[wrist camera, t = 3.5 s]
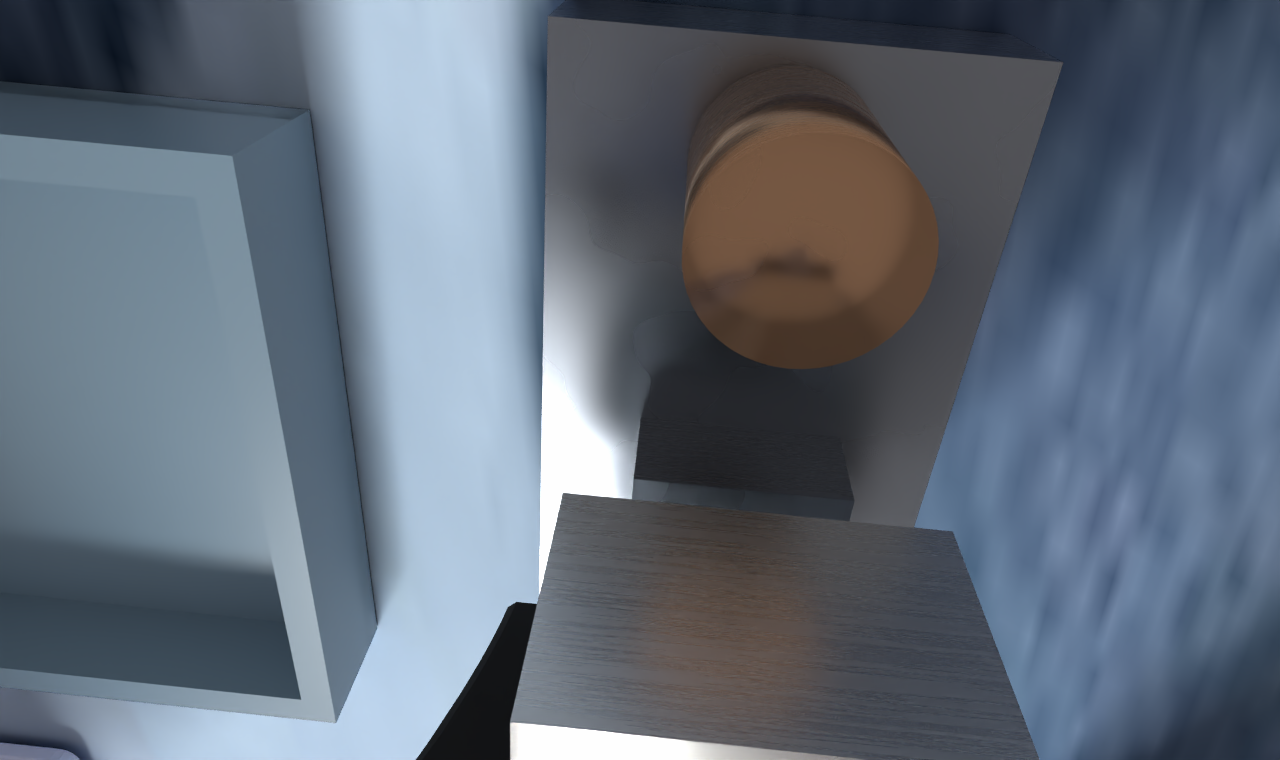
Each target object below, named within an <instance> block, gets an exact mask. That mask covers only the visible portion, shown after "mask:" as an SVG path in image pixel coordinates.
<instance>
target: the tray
mask: <svg viewBox="0 0 1280 760" xmlns="http://www.w3.org/2000/svg"><path fill="white" fill-rule="evenodd" d="M376 630H377V623H376V616H375V608H374V600H373V593H372V585H371V577H370V570H369V562H368V554H367V547H366V539H365V531H364V524H363V516H362V508H361V501H360V493H359V485H358V478H357V470H356V462H355V454H354V447H353V439H352V431H351V424H350V416H349V408H348V401H347V393H346V385H345V378H344V370H343V362H342V355H341V347H340V339H339V332H338V324H337V316H336V309H335V301H334V293H333V286H332V278H331V270H330V263H329V255H328V247H327V240H326V232H325V224H324V217H323V209H322V201H321V194H320V186H319V178H318V171H317V163H316V155H315V148H314V140H313V132H312V125H311V117H310V110H306V109H295V108H284V107H273V106H262V105H252V104H241V103H230V102H219V101H208V100H198V99H187V98H176V97H165V96H154V95H143V94H133V93H122V92H111V91H100V90H89V89H79V88H68V87H57V86H46V85H35V84H25V83H14V82H3V81H0V687H3V688H12V689H21V690H31V691H40V692H49V693H59V694H68V695H77V696H87V697H96V698H106V699H115V700H124V701H134V702H143V703H152V704H162V705H171V706H180V707H190V708H199V709H209V710H218V711H227V712H237V713H246V714H255V715H265V716H274V717H283V718H293V719H302V720H311V721H321V722H330V723H336V722H337V720H338V717H339V715H340V713H341V710H342V708H343V706H344V704H345V701H346V699H347V697H348V694H349V692H350V690H351V687H352V685H353V683H354V681H355V678H356V676H357V674H358V671H359V669H360V667H361V664H362V662H363V660H364V658H365V655H366V653H367V651H368V648H369V646H370V644H371V642H372V639H373V637H374V635H375V632H376Z"/></svg>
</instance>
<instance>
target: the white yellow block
mask: <svg viewBox="0 0 1280 760" xmlns="http://www.w3.org/2000/svg"><path fill="white" fill-rule="evenodd" d="M510 760H1039V757H1038V754H1037V752H1036V749H1035V746H1034V744H1033V741H1032V739H1031V736H1030V733H1029V731H1028V728H1027V725H1026V723H1025V720H1024V718H1023V715H1022V712H1021V710H1020V707H1019V704H1018V702H1017V699H1016V697H1015V694H1014V691H1013V689H1012V686H1011V683H1010V681H1009V678H1008V676H1007V673H1006V670H1005V668H1004V665H1003V662H1002V660H1001V657H1000V654H999V652H998V649H997V647H996V644H995V641H994V639H993V636H992V633H991V631H990V628H989V626H988V623H987V620H986V618H985V615H984V612H983V610H982V607H981V605H980V602H979V599H978V597H977V594H976V591H975V589H974V586H973V583H972V581H971V578H970V576H969V573H968V570H967V568H966V565H965V562H964V560H963V557H962V555H961V552H960V549H959V547H958V544H957V541H956V539H955V536H954V534H953V532H952V531H942V530H932V529H922V528H912V527H902V526H892V525H882V524H872V523H862V522H852V521H843V520H833V519H823V518H813V517H803V516H793V515H783V514H773V513H763V512H753V511H743V510H733V509H723V508H713V507H703V506H693V505H683V504H673V503H663V502H653V501H643V500H633V499H623V498H613V497H603V496H593V495H583V494H573V493H562V498H561V502H560V506H559V511H558V515H557V519H556V524H555V528H554V533H553V537H552V541H551V546H550V550H549V554H548V559H547V563H546V567H545V572H544V576H543V581H542V585H541V589H540V594H539V598H538V602H537V607H536V611H535V615H534V620H533V624H532V629H531V633H530V637H529V642H528V646H527V650H526V655H525V659H524V663H523V668H522V672H521V677H520V681H519V685H518V690H517V694H516V698H515V703H514V707H513V711H512V716H511V720H510Z"/></svg>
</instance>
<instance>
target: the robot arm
mask: <svg viewBox="0 0 1280 760" xmlns="http://www.w3.org/2000/svg"><path fill="white" fill-rule="evenodd" d="M536 607H537V604H531V603H521V602H516V603H514V604H513V605H511V606H509V607H508V608H507V610H506V613H505V615H504V617H503V619H502V621H501V623H500V625H499V627H498V629H497V631H496V633H495V635H494V637H493V639H492V641H491V643H490V645H489V646H488V648H487V650H486V652H485V654H484V655H483V657H482V659H481V661H480V662H479V664H478V666H477V667H476V669H475V671H474V672H473V674H472V676H471V677H470V679H469V681H468V682H467V684H466V686H465V687H464V689H463V691H462V692H461V694H460V695H459V697H458V698H457V700H456V701H455V703H454V704H453V706H452V707H451V709H450V710H449V712H448V713H447V715H446V716H445V718H444V719H443V721H442V723H441V724H440V726H439V727H438V729H437V730H436V732H435V733H434V735H433V736H432V738H431V739H430V741H429V742H428V744H427V745H426V746H425V748H424V749H423V751H422V752H421V754H420V755H419V756H418V758H417V759H416V760H510V720H511V716H512V711H513V707H514V703H515V698H516V694H517V690H518V685H519V681H520V677H521V672H522V668H523V663H524V659H525V655H526V650H527V646H528V642H529V637H530V633H531V629H532V624H533V620H534V615H535V611H536ZM0 760H80V759H79V758H78V757H77V756H76V755H74V754H73V753H71V752H69V751H66V750H62V749H56V748H47V747H38V746H29V745H19V744H10V743H1V742H0Z"/></svg>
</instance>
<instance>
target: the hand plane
mask: <svg viewBox="0 0 1280 760" xmlns="http://www.w3.org/2000/svg"><path fill="white" fill-rule="evenodd" d="M1062 65H1063V62H1062V61H1060V60H1058V59H1056V58H1054V57H1052V56H1050V55H1048V54H1046V53H1045V52H1043V51H1041V50H1039V49H1037V48H1035V47H1033V46H1031V45H1029V44H1028V43H1026V42H1024V41H1022V40H1020V39H1018V38H1016V37H1014V36H1012V35H1010V34H1003V33H992V32H981V31H970V30H959V29H947V28H936V27H925V26H914V25H903V24H891V23H880V22H869V21H858V20H847V19H835V18H824V17H813V16H802V15H791V14H779V13H768V12H757V11H746V10H735V9H723V8H712V7H701V6H690V5H679V4H667V3H656V2H645V1H634V0H565V1H564V2H563V3H562V4H561V5H560V6H559V7H558V8H556V9H555V10H554V11H553V12H552V13H551V14H550V15H549V16H548V48H547V116H546V184H545V252H544V319H543V387H542V455H541V523H540V589H541V585H542V581H543V576H544V572H545V567H546V563H547V559H548V554H549V550H550V546H551V541H552V537H553V533H554V528H555V524H556V519H557V515H558V511H559V506H560V502H561V498H562V493H573V494H583V495H593V496H603V497H613V498H623V499H633V500H643V501H653V502H663V503H673V504H683V505H693V506H703V507H713V508H723V509H733V510H743V511H753V512H763V513H773V514H783V515H793V516H803V517H813V518H823V519H833V520H843V521H852V522H862V523H872V524H882V525H892V526H902V527H912V528H914V525H915V522H916V519H917V516H918V512H919V509H920V506H921V503H922V500H923V497H924V494H925V491H926V488H927V484H928V481H929V478H930V475H931V472H932V469H933V466H934V463H935V460H936V457H937V453H938V450H939V447H940V444H941V441H942V438H943V435H944V432H945V429H946V425H947V422H948V419H949V416H950V413H951V410H952V407H953V404H954V401H955V397H956V394H957V391H958V388H959V385H960V382H961V379H962V376H963V373H964V369H965V366H966V363H967V360H968V357H969V354H970V351H971V348H972V345H973V341H974V338H975V335H976V332H977V329H978V326H979V323H980V320H981V317H982V314H983V310H984V307H985V304H986V301H987V298H988V295H989V292H990V289H991V286H992V282H993V279H994V276H995V273H996V270H997V267H998V264H999V261H1000V258H1001V254H1002V251H1003V248H1004V245H1005V242H1006V239H1007V236H1008V233H1009V230H1010V226H1011V223H1012V220H1013V217H1014V214H1015V211H1016V208H1017V205H1018V202H1019V199H1020V195H1021V192H1022V189H1023V186H1024V183H1025V180H1026V177H1027V174H1028V171H1029V167H1030V164H1031V161H1032V158H1033V155H1034V152H1035V149H1036V146H1037V143H1038V139H1039V136H1040V133H1041V130H1042V127H1043V124H1044V121H1045V118H1046V115H1047V111H1048V108H1049V105H1050V102H1051V99H1052V96H1053V93H1054V90H1055V87H1056V83H1057V80H1058V77H1059V74H1060V71H1061V68H1062ZM539 594H540V590H539Z"/></svg>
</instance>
